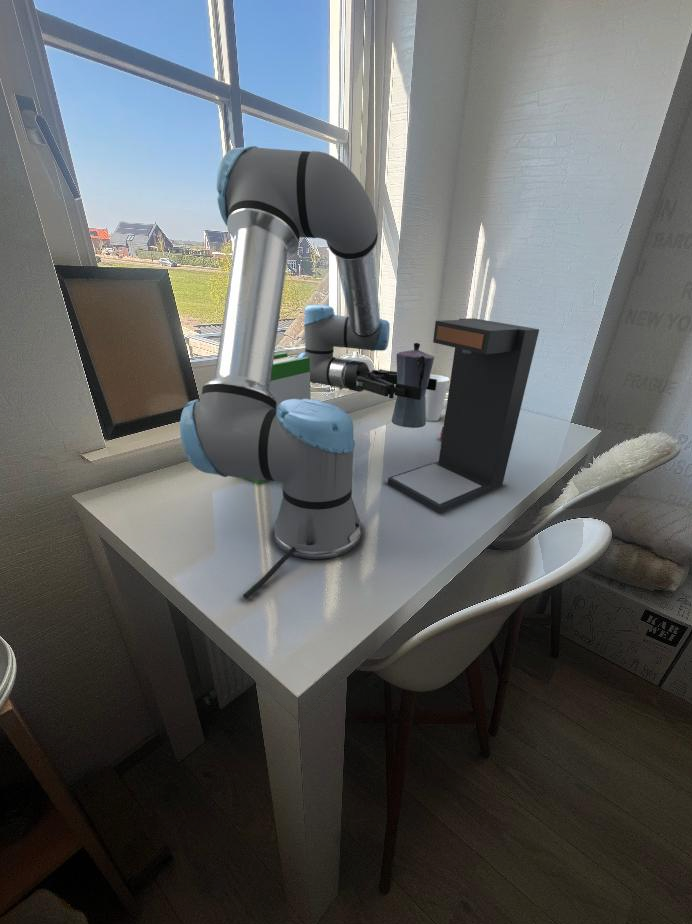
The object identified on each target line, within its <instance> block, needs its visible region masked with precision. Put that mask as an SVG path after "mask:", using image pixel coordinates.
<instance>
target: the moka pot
mask: <svg viewBox="0 0 692 924" xmlns="http://www.w3.org/2000/svg"><path fill="white" fill-rule="evenodd" d="M420 346H421V344H420V343H419V342H414V343H413V349H412V350H411V349H410V350H405V351H400V352H397V353H396V372H397V383H398V384H403V385H408V386H414V387H419V388H422V392H421V399H420V400H417V399H411V398H406V397H401V396H396V400H395V404H394V408H393V414H392V416H391V422H392V424H393V425H396V426H398V427H401V428H408V429H418V428H419V429H420V428H422V427H425V426H426V424H427V420H426V397H425V394H426V388H427V386H428V382H429V378H430V374H431V373H432V369H433V365H434V360H435V356H434V355H432V354H429V353H427V352H424V351H421V350H420Z"/></svg>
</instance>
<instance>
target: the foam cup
mask: <svg viewBox="0 0 692 924" xmlns="http://www.w3.org/2000/svg"><path fill="white" fill-rule="evenodd" d="M430 378H431V379H437V384H436V390H435V391H434V390H428V389H426V394H425V397H426V422H427V421H428V422H437V421H439V420H440V418H441V413H442V411H443V407H444V403H445V400H446V395H447V392H448V389H449V386H450V378H449V377H447V376H446V375H445V376H444V375H440V374H430Z"/></svg>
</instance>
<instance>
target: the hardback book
mask: <svg viewBox="0 0 692 924" xmlns="http://www.w3.org/2000/svg"><path fill="white" fill-rule="evenodd" d="M288 355H289V354H288V353H287V352H280V353H274V359H273V366H272V373H271V380H270V387H269V391H270V392H271V394H272V395H273V396H274V398H275V399H276V401H277V405H276V409H277V408H278V406H279V404H280V403H281V402H283V401H285V400H289V399H299V400H302V399H311V382H310V358H308V357H304V358H299V359H297V358H294V357H289V356H288ZM245 479H246V480H248V481H251V482H253V483H256V484H261V483H263V482H266V481H267V480H258V479H250V478H245Z"/></svg>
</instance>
